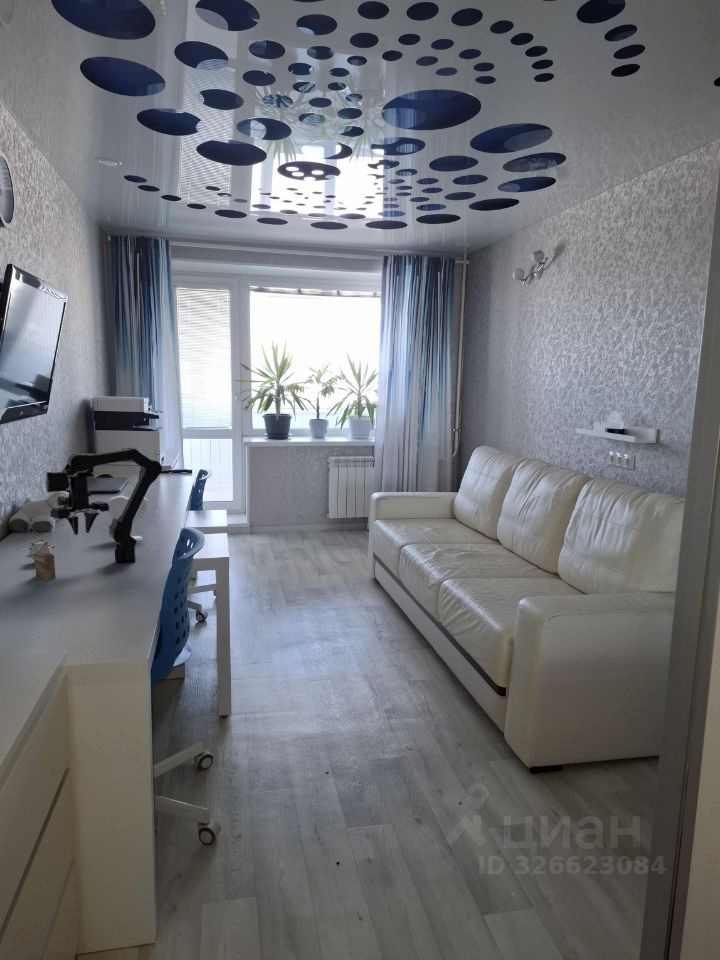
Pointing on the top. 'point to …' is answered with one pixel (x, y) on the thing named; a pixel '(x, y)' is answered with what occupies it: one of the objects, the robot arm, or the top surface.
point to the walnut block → (44, 565)
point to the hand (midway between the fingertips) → (81, 533)
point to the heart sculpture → (119, 505)
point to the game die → (39, 549)
